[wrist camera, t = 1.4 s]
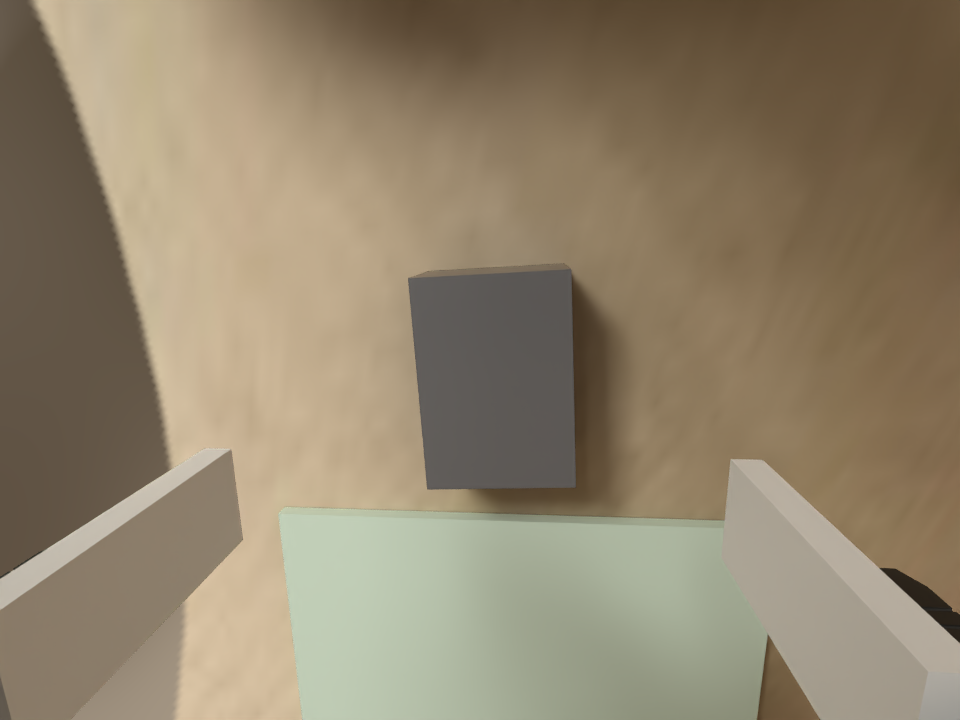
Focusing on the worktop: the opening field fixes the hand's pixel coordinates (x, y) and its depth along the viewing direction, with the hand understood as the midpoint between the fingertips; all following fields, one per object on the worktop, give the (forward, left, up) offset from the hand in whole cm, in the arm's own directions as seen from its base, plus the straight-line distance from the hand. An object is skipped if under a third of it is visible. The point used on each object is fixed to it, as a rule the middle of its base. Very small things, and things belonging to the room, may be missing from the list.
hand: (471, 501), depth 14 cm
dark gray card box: (0, 0, -15) cm, 15 cm away
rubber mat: (+19, +1, -15) cm, 24 cm away
